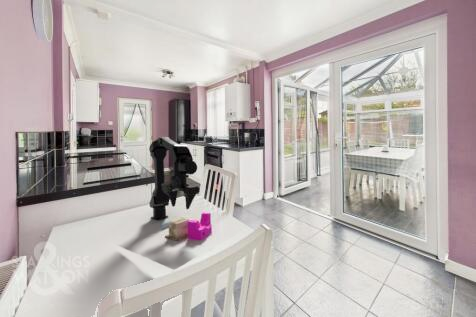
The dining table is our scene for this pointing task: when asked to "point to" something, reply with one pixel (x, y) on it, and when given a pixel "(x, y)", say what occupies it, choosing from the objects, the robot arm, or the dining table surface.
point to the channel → (166, 224)
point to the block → (178, 227)
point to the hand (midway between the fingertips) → (180, 207)
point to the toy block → (200, 227)
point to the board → (177, 238)
